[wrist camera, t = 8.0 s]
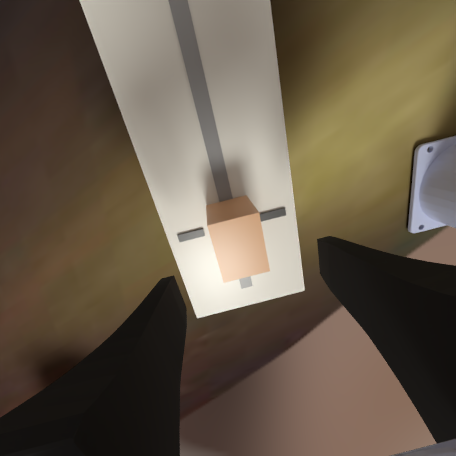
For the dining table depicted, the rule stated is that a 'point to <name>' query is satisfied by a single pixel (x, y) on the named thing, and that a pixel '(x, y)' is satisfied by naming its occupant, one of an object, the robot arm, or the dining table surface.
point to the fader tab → (237, 238)
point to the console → (205, 130)
